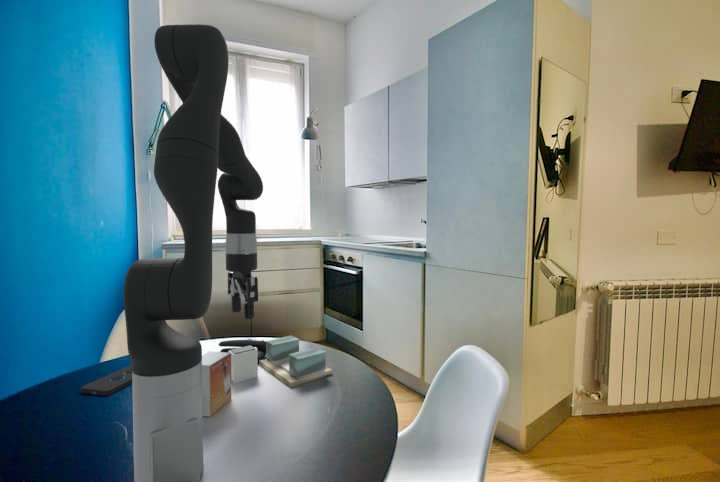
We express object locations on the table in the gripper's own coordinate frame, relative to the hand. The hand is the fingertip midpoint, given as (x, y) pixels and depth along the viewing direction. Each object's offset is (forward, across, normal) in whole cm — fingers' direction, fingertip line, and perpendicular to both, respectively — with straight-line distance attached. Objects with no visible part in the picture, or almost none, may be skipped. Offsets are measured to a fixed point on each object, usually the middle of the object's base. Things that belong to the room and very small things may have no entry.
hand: (242, 315), depth 88 cm
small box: (+16, +10, -11) cm, 22 cm away
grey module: (+16, 0, 0) cm, 16 cm away
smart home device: (+17, -19, -22) cm, 34 cm away
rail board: (+16, +4, +12) cm, 21 cm away
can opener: (+16, -14, +6) cm, 23 cm away
